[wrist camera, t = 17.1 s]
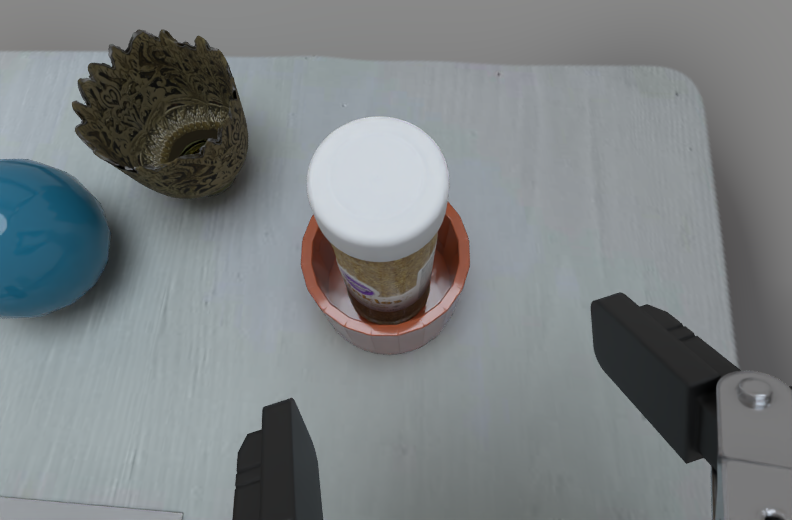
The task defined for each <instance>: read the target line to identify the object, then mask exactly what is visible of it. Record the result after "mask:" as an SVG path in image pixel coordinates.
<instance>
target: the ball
mask: <svg viewBox="0 0 792 520" xmlns="http://www.w3.org/2000/svg"><path fill="white" fill-rule="evenodd" d="M110 242H111V232H110V229H109V226H108V222H107V219H106V216H105V213H104V210H103V208H102V206H101V203H100V202H99V201H98V200H97V199H96V198H95V197H94V196H93V195H92V194H91V193H90V192H89V191H88V190H87V189H86V188H85V187H84V186H83V185H82V184H81V183H80V182H79V181H78V180H77V179H76V178H75V177H74V176H72V175H70V174H68V173H67V172H65V171H62V170H59V169H57V168H54V167H51V166H48V165H45V164H43V163H40V162H37V161H33V160H29V159H0V318H2V319H4V318H33V317H40V316H45V315H47V314H49V313H52V312H54V311H57V310H59V309H61V308H64V307H66V306H69V305H71V304H73V303H75V302H76V301H77V300H78V299H79V298H81V297H82V296H83V295H84V294H85V293H86V292H87V291H89V290H90V289H91V288H92V287H93V286H94V285H95V284H96V282H97V281H98V279H99V277H100V275H101V274H102V272H103V270H104V268H105V266H106V265H107V263H108V257H109V250H110Z"/></svg>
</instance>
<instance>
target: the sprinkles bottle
mask: <svg viewBox="0 0 792 520" xmlns="http://www.w3.org/2000/svg"><path fill="white" fill-rule="evenodd" d="M449 185H450V183H449V172H448V166H447V163H446V160H445V157H444V155H443V153H442V152H441V150H440V148H439V147H438V145H437V144H436V142H435V141H434V140H433V139H432V138H431V137H430V136H429V135H428V134H427V133H425V132H424V131H423V130H421V129H420V128H419V127H417V126H415V125H413V124H411V123H409V122H406V121H404V120H400V119H397V118H392V117H382V116H374V117H365V118H361V119H357V120H354V121H351V122H349V123H347V124H344V125H343V126H341V127H339V128H337V129H336V130H334V131H333V132H332V133H331V134H330V135H329V136H327V137H326V138H325V139H324V140H323V141H322V143H321V144H320V145H319V146H318V148H317V150H316V151H315V153H314V155H313V157H312V159H311V162H310V165H309V168H308V173H307V194H308V199H309V202H310V205H311V208H312V211H313V214H314V217H315V219H316V222H317V224H318V226H319V228H320V230H321V231H322V233H323V234H324V236H325V237H326V238H327V239H328V240H329V242H330V243H331V245H332V247H333V249H334V252H335V255H336V260H337V264H338V267H339V269H340V272H341V275H342V277H343V280H344V283H345V285H346V287H347V292H348V296H349V298H350V300H351V303H352V305H353V306H354V308H355V309H356V310H357V311H358V313H359V314H360V315H361V316H362V317H364V318H366V319H367V320H368V321H370V322H373V323H376V324H380V325H397V324H400V323H403V322H406V321H408V320H410V319H411V318H412V317H414V316H415V315H417V314H418V313H419V311H420V310H421V309H422V308H423V306H424V305H425V304H426V302H427V298H428V295H429V292H430V279H431V274H432V268H433V261H434V255H435V249H436V244H437V235H438V230H439V228H440V226H441V224H442V222H443V219H444V216H445V213H446V208H447V203H448V195H449Z"/></svg>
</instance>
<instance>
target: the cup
mask: <svg viewBox="0 0 792 520" xmlns="http://www.w3.org/2000/svg"><path fill="white" fill-rule="evenodd" d="M195 46H196V47H195ZM195 46H192V45H190V44H189V43H188V42H183V43H181V42H177V40H176V39H174V38H173V37H172V36H171V35H170V33H169V32H168V31H166V30H161V31H160V33H159V37H156V36H154V35H153V34H150V33H148V32H146V31H144V30H137V31H136V32H134V33H133V35H132V37H131V39H130V43H129V46H128V48H127V49H126V50H125V51H124V50H122V49H121V48H120V47H118V46H115V45H113V44H110V45H109V49H108V50H109V54H108V55H109V57H110V59H111V63H112V67H110V65H107V64H105V63H102V64H99V63H90V64H89V65H88V71H89V74H90V76H89V78H84V79H81V78H80V79H79V80H78V88H79V91H80V93H81V96H82V98H83V100H84V101H85V103H86V105H87V106H86V105H84V104H85V103H84V104H82V103H79V102H77V101H73V102H72V107H73V110H74V111H75V112H76V114H77V115H78V116H79V117H80V118H81V120H82V121H81V123H82V124H79V125H77V126H76V128H75V132H76V134H77V135H78V136H79V138H80V139H81V140H82V141H83V142H84V143H85V144H86V145H87V146H88V147H89V148H91V149H92V150H93V153H94V154H95V155H96V156H98V157H99V158H101V159H102V160H104V161H106V162H108V163H110V164H111V165H113V166H114V167H116V168H117V169H119V170H121V171H122V172H124V173H125V174H127V175H128V176H130V177H131V178H133V179H134V180H136V181H138V182H139V183H141V184H143V185H144V186H146V187H148V188H150V189H152V190H154V191H156V192H158V193H161V194H164V195H167V196H170V197H174V198H184V199H192V198H200V197H204V196H214V195H217V194H220V193H222V192H224V191H225V190H227V189H228V188H229V187H230V186H231V185H232V184H233V182H234V180H235V179H236V176H237V174H238V173H239V171H240V170H241V168H242V166H243V164H244V161H245V158H246V154H247V150H248V130H247V124H246V120H245V116H244V112H243V108H242V105H241V102H240V98H239V95H238V92H237V88H236V85H235V82H234V78H233V76H232V74H231V71H230V67H229V65H228V63H227V61H226V59H225V57H224V55H223V54H222V52H221V51H219V49H215V48H212V47H210V46H209V44H208V42H207V41H206V40H205V39H204V38H202V37H200V36H197V37H196V39H195Z"/></svg>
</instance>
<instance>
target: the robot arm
mask: <svg viewBox="0 0 792 520" xmlns="http://www.w3.org/2000/svg"><path fill="white" fill-rule="evenodd" d="M591 319H592V333H593V346H594V352H595V355H596V358H597V360H598V362H599V364H600V366H601V368H602V369H603V370H604V372H605V373H606V374H607V375H608V376H609V377H610V378H611V379H612V381H613V382H614V383H615V384H616V385H617V386H618V387H619V388H620V390H621V391H622V392H623V393H624V394H625V395H626V396H627V397H628V399H629V400H630V401H631V402H632V403H633V404H634V405H635V406H636V408H637V409H638V410H639V411H640V412H641V413H642V414H643V415H644V417H645V418H646V419H647V420H648V421H649V422H650V423H651V424H652V426H653V427H654V428H655V429H656V430H657V431H658V432H659V433H660V435H661V436H662V437H663V438H664V439H665V440H666V441H667V442H668V444H669V445H670V446H671V447H672V448H673V449H674V450H675V451H676V453H677V454H678V455H679V456H680V457H681V458H682V459H683V460H684V462H685V463H686V464H687V463H690V462H693V461H696V460H698V459H701V458H705V459H706V460H707V461H708V463H709V464H710V465H711V512H712V520H792V387H790V386H788V385H786V384H785V383H784V382H782V381H781V380H779V379H777V378H775V377H773V376H771V375H768V374H765V373H761V372H756V371H741V370H740V369H738V368H737V367H736V366H734V365H733V364H732V363H731V362H729V361H728V360H727V359H726V358H724V357H723V356H722V355H721V354H719V353H718V352H717V351H716V350H714V349H713V348H712V347H711V346H709V345H708V344H707V343H706V342H704V341H703V340H702V339H700V338H699V337H698V336H695V335H694V333H693V332H692V331H690V330H689V329H688V328H687V327H685V326H684V327H683V325H682V323H680V322H679V321H678V320H677V319H675V318H674V317H673V316H672V315H670V314H669V313H668V312H666V311H663V310H660V309H658V308H655V307H653V306H650V305H643V306H640V307H639V306H638V305H637V304H636V303H634V302H633V301H632V300H631V299H630V298H629V297H627V296H626V295H625V294H623V293H616V294H613V295H610V296H607V297H604V298H601V299H598V300H595V301H593V302H592V303H591ZM235 486H236V489H235V496H234V508H233V520H323V512H322V502H321V491H320V480H319V470H318V461H317V456H316V452H315V448H314V445H313V442H312V440H311V437H310V435H309V433H308V430H307V428H306V426H305V423H304V421H303V419H302V416H301V414H300V412H299V409H298V407H297V405H296V403H295V401H294V399H293V398H290V399H287V400H283V401H280V402H277V403H274V404H271V405H268V406H265V407H263V411H262V430H259V431H256V432H252V433H249V434H247V436H246V438H245V440H244V442H243V444H242V446H241V448H240V450H239V452H238V458H237V474H236V483H235Z"/></svg>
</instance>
